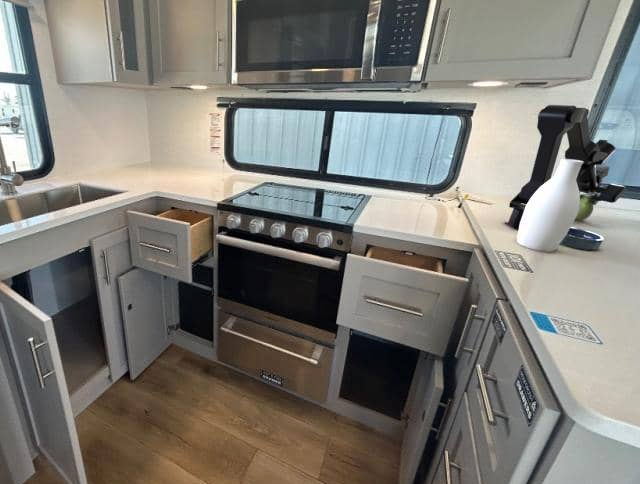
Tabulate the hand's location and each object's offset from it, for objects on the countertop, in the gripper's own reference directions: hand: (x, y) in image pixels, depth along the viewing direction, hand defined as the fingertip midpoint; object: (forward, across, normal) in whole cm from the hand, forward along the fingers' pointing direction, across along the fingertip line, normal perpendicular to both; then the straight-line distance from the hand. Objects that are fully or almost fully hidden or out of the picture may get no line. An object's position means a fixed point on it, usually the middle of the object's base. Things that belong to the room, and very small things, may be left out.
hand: (587, 202), depth 123 cm
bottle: (-30, -12, +40) cm, 51 cm away
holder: (-20, -14, +29) cm, 38 cm away
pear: (+4, 0, +6) cm, 7 cm away
